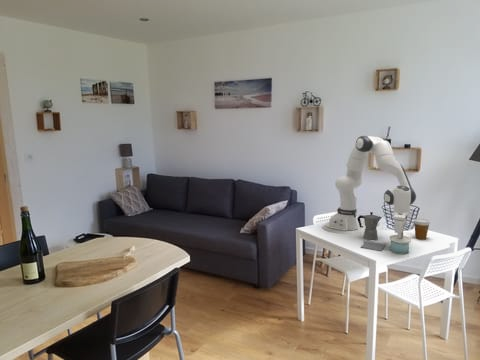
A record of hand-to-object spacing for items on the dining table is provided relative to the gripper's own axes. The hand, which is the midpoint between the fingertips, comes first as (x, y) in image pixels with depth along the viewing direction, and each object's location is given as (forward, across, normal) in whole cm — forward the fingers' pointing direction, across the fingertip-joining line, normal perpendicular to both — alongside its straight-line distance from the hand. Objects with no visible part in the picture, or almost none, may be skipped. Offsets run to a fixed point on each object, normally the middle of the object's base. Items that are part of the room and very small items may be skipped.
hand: (400, 236), depth 210 cm
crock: (+9, 0, 0) cm, 9 cm away
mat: (+9, 0, -15) cm, 18 cm away
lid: (+2, 0, 0) cm, 2 cm away
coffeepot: (+9, -14, -21) cm, 27 cm away
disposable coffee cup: (+9, -31, +8) cm, 33 cm away
